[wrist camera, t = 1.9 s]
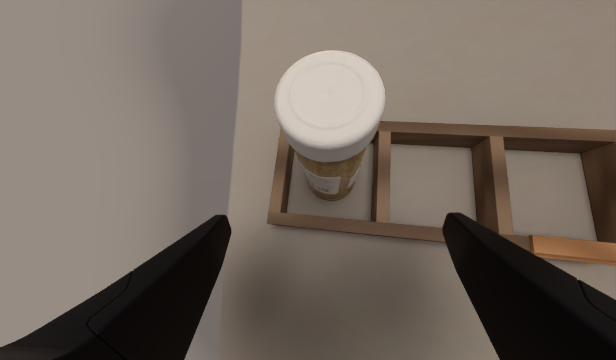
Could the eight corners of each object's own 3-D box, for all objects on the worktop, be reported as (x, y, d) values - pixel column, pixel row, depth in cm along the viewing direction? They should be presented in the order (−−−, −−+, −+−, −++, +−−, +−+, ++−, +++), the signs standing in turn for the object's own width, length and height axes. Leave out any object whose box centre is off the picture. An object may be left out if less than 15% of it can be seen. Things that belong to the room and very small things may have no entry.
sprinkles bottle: (364, 182, 21) (414, 98, 8) (326, 210, 21) (315, 170, 8) (335, 147, 22) (338, 26, 9) (298, 174, 22) (250, 86, 9)
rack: (617, 265, 17) (669, 271, 15) (273, 228, 21) (265, 227, 18) (591, 143, 20) (632, 128, 17) (287, 129, 23) (281, 115, 21)
